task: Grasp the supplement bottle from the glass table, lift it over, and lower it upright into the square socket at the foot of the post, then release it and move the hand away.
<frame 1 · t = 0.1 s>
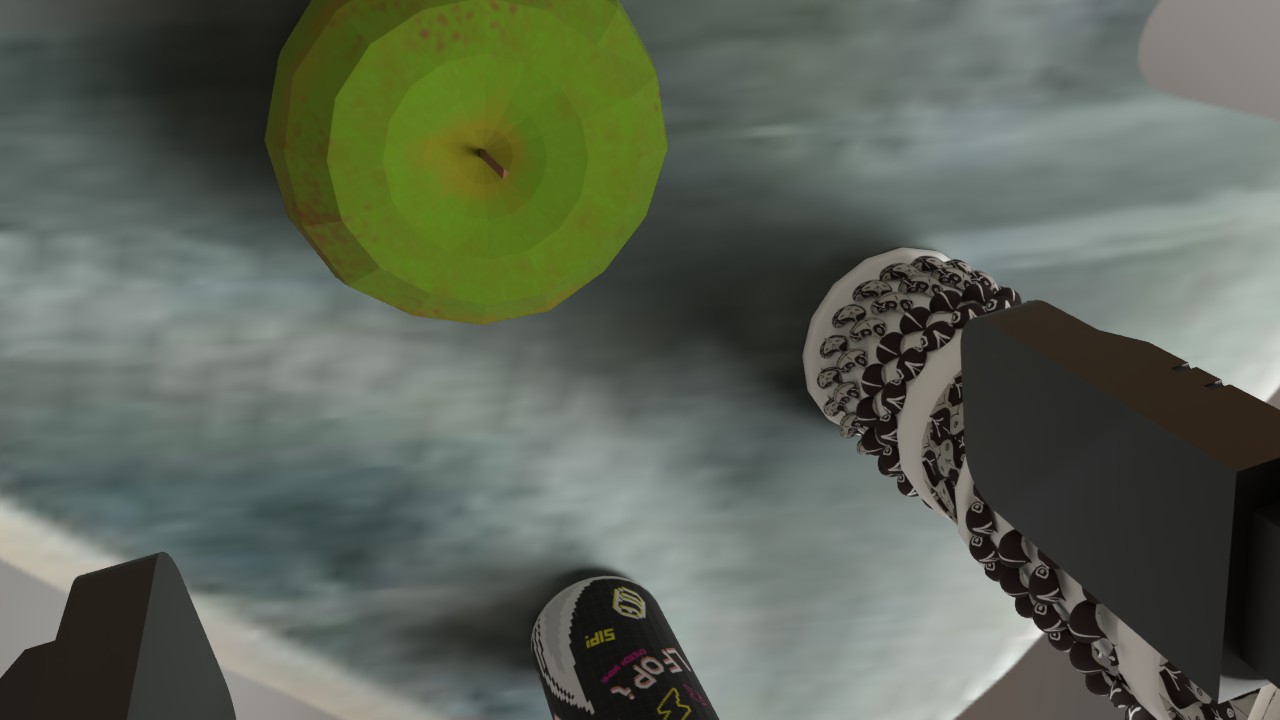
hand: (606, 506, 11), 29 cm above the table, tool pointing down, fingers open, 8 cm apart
decorative candle: (891, 342, 47), on the table
apple: (441, 96, 38), on the table
beverage can: (591, 621, 48), on the table
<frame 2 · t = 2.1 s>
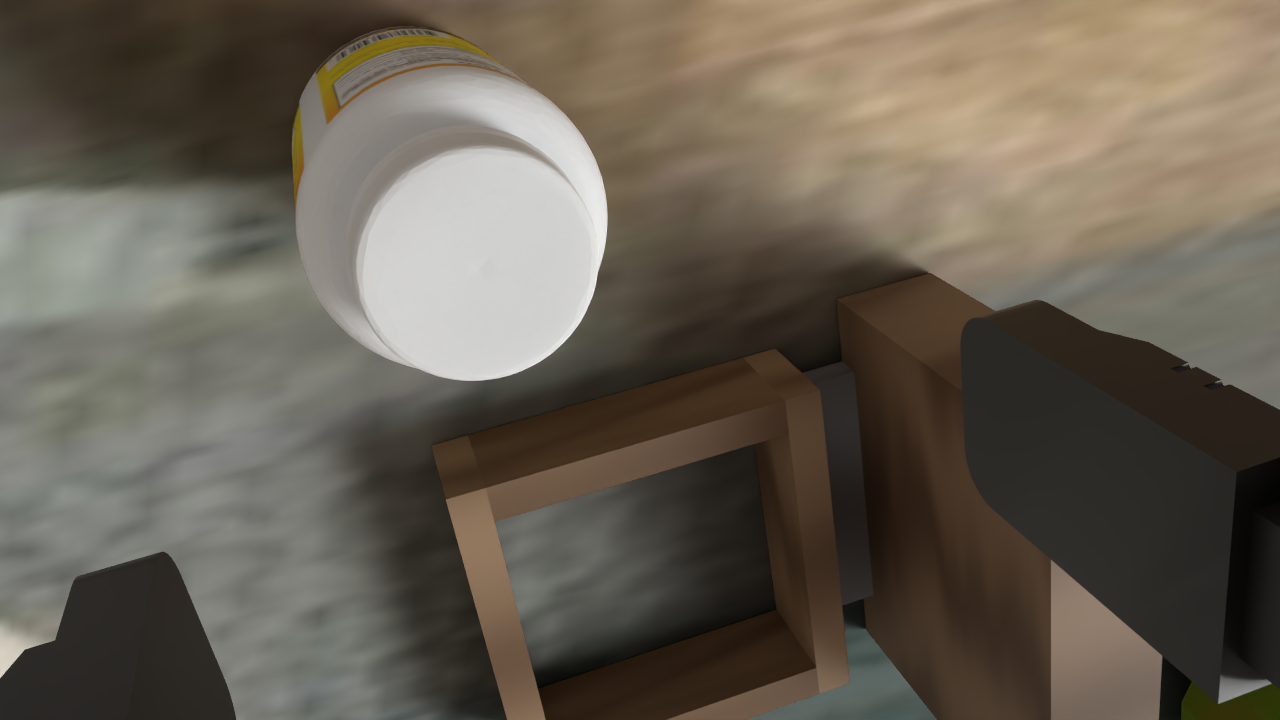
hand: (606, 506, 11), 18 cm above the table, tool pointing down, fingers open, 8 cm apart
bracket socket: (637, 543, 33), on the table
apple: (1258, 656, 44), on the table
supplement bottle: (411, 140, 27), on the table
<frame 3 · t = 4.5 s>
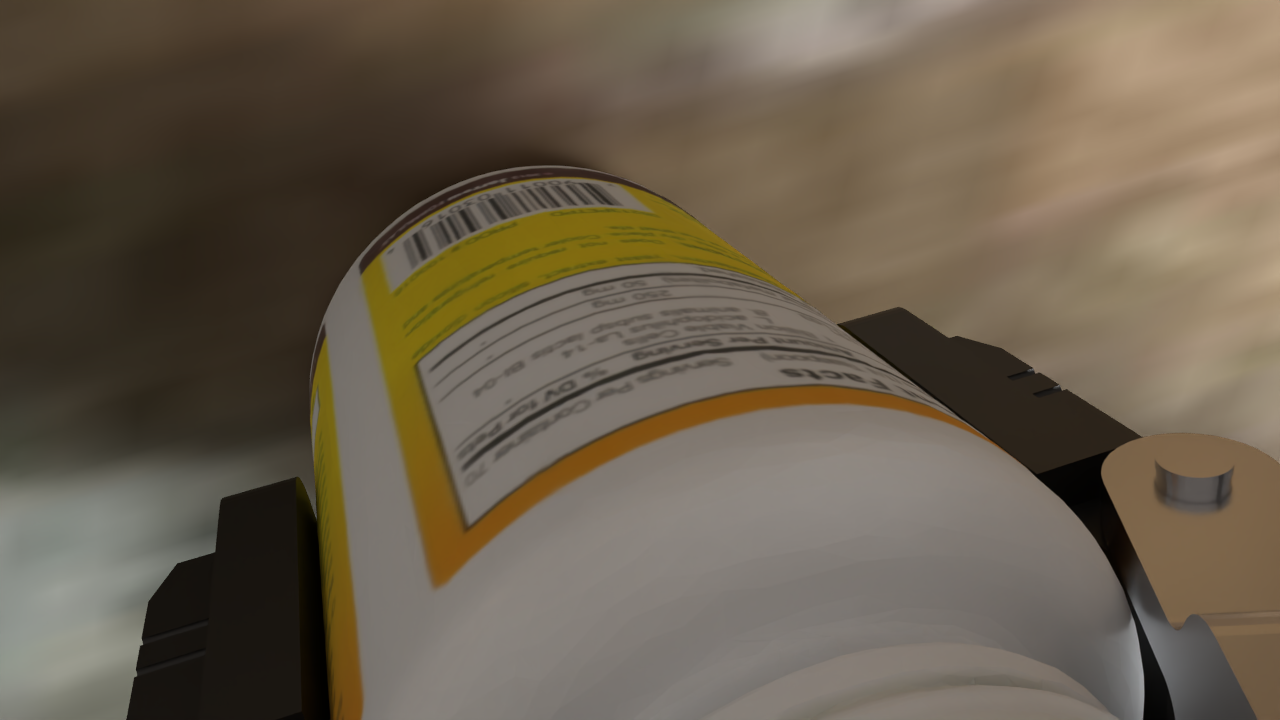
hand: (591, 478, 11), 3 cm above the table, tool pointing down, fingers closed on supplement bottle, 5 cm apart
supplement bottle: (531, 361, 14), on the table, touching gripper
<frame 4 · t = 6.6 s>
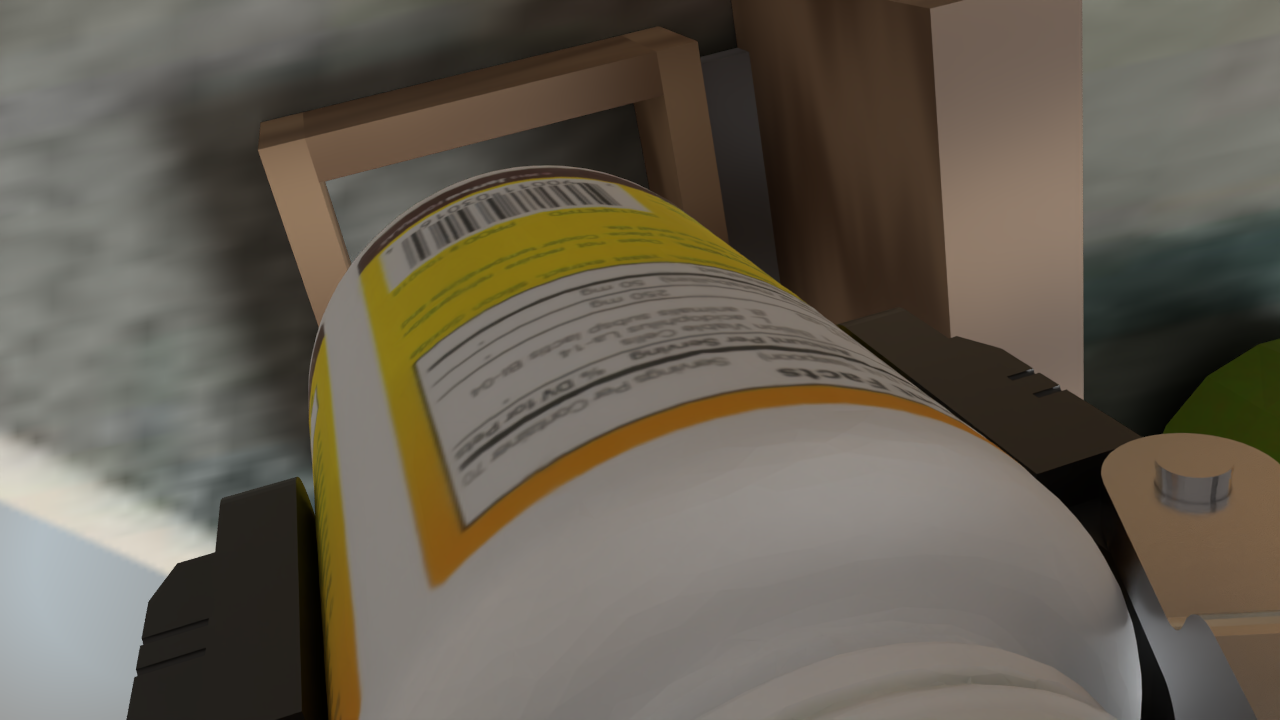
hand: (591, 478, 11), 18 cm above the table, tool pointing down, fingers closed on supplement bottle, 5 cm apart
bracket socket: (513, 261, 29), on the table
apple: (1230, 443, 40), on the table
supplement bottle: (530, 361, 14), point 15 cm above the table, touching gripper
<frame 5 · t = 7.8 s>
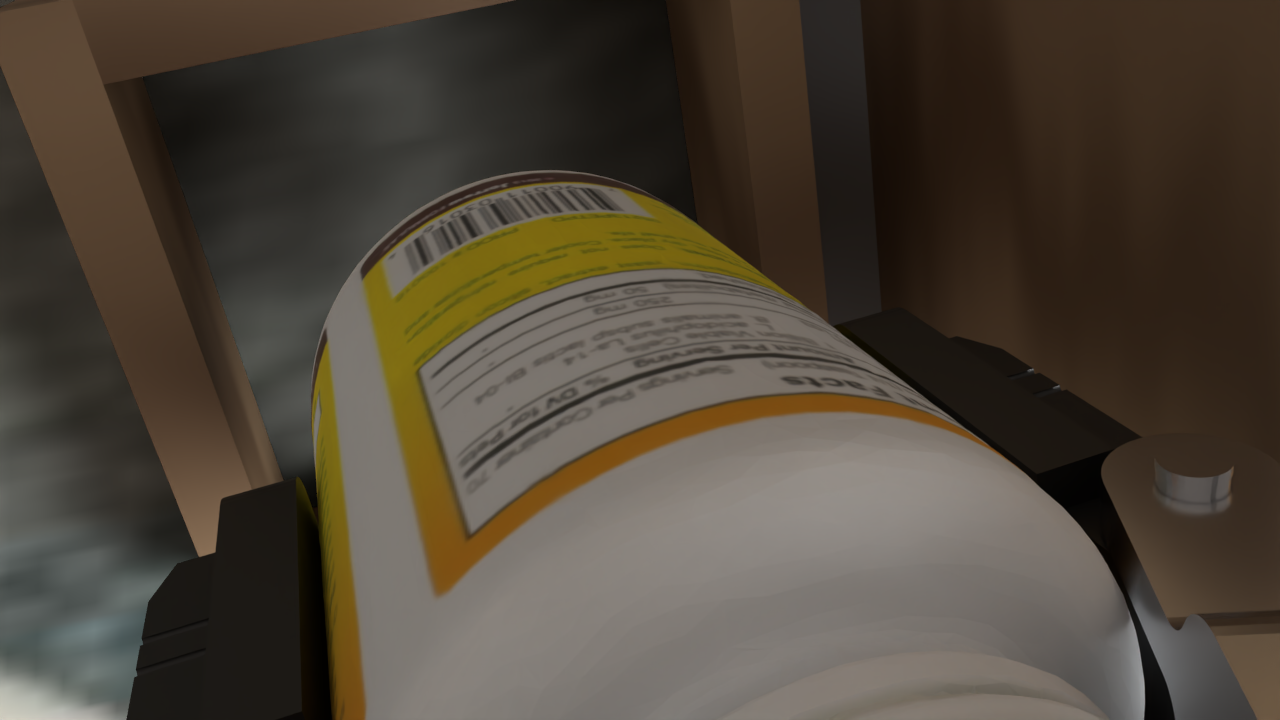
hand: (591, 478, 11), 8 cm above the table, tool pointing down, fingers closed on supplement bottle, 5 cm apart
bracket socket: (467, 244, 18), on the table
supplement bottle: (532, 365, 14), point 5 cm above the table, touching gripper
when the fingers open (4 cm above the table, at t = 8.9 s): supplement bottle drops 1 cm, resting in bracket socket.
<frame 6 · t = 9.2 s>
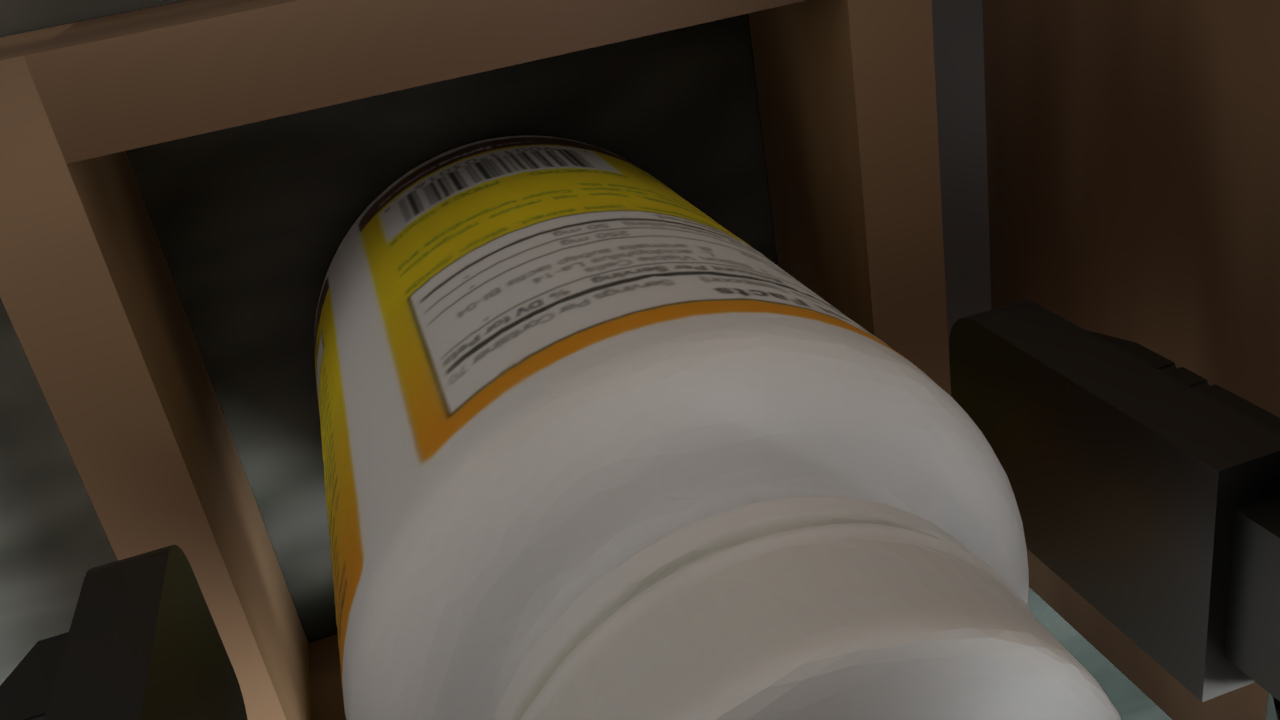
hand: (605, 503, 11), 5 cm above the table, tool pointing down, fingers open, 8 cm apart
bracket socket: (512, 328, 15), on the table
supplement bottle: (516, 318, 16), resting in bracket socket
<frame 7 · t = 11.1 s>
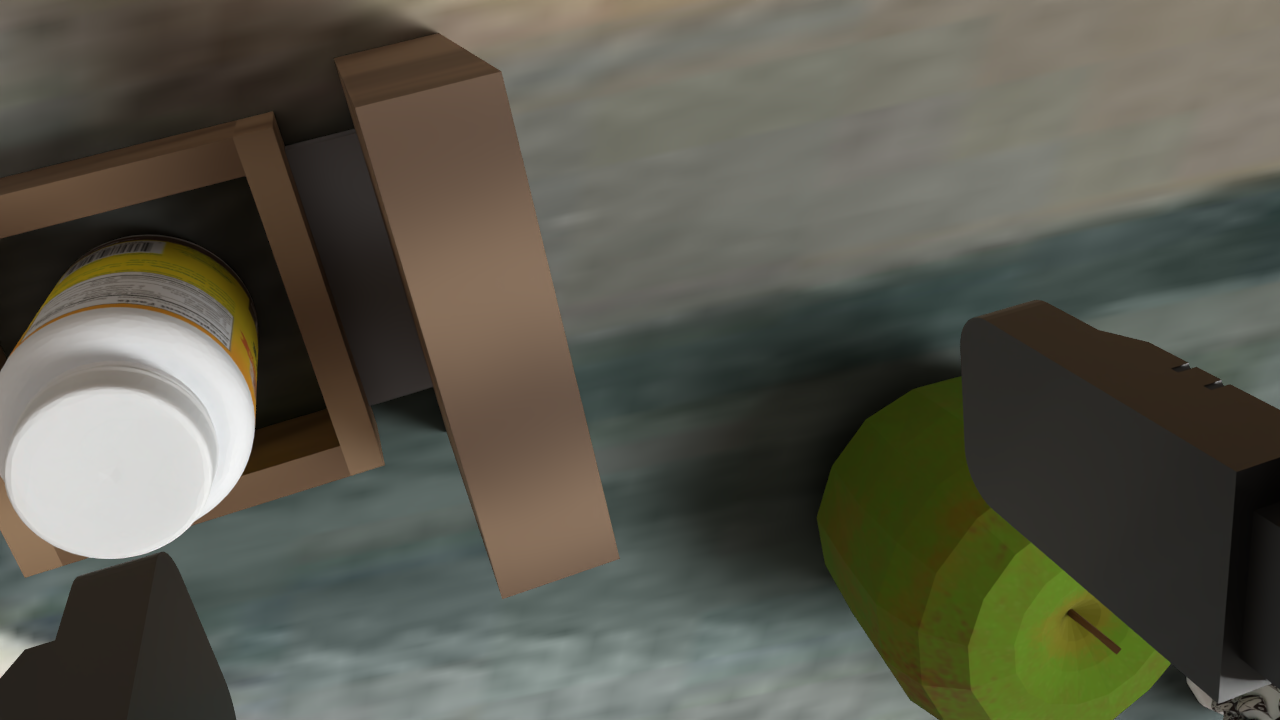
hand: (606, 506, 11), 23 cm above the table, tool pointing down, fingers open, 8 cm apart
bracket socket: (155, 325, 32), on the table
decorative candle: (1257, 632, 51), on the table
apple: (921, 481, 42), on the table
supplement bottle: (159, 320, 32), resting in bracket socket
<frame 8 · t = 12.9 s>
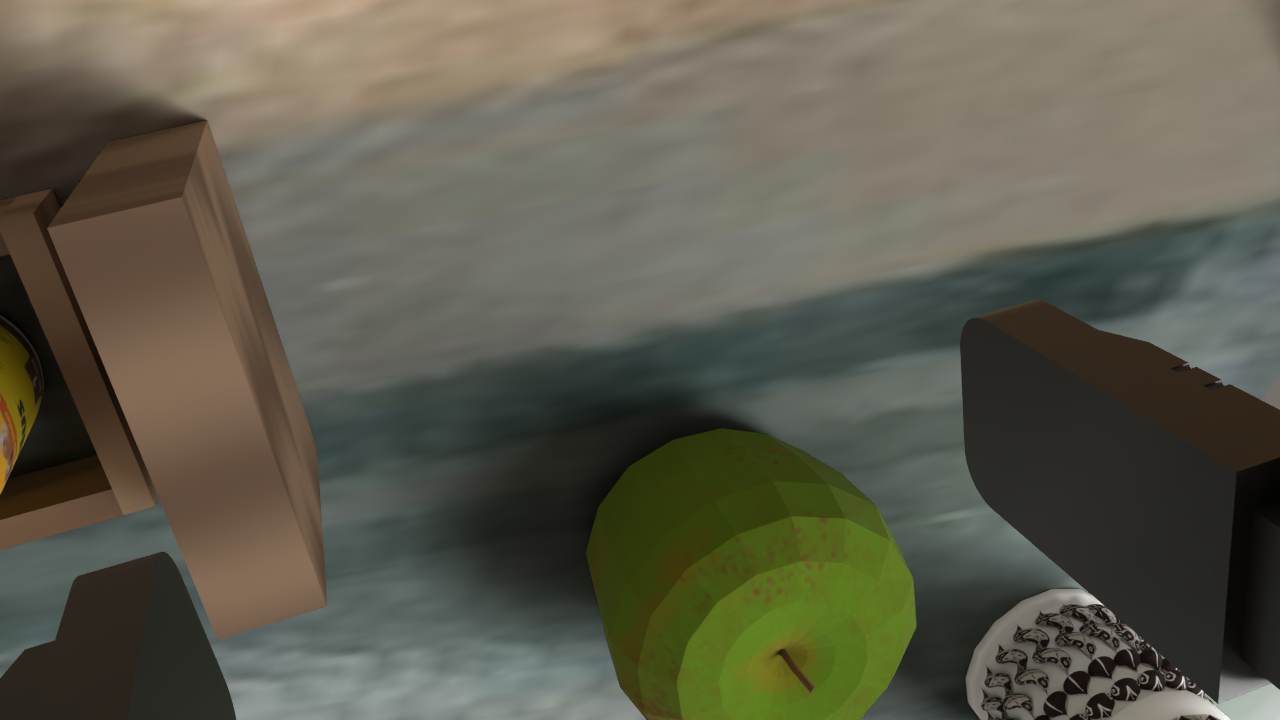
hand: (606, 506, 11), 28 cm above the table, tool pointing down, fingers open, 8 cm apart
decorative candle: (1037, 658, 55), on the table
apple: (697, 519, 46), on the table
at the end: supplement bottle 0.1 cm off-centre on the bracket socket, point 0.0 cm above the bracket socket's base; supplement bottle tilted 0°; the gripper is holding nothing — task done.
